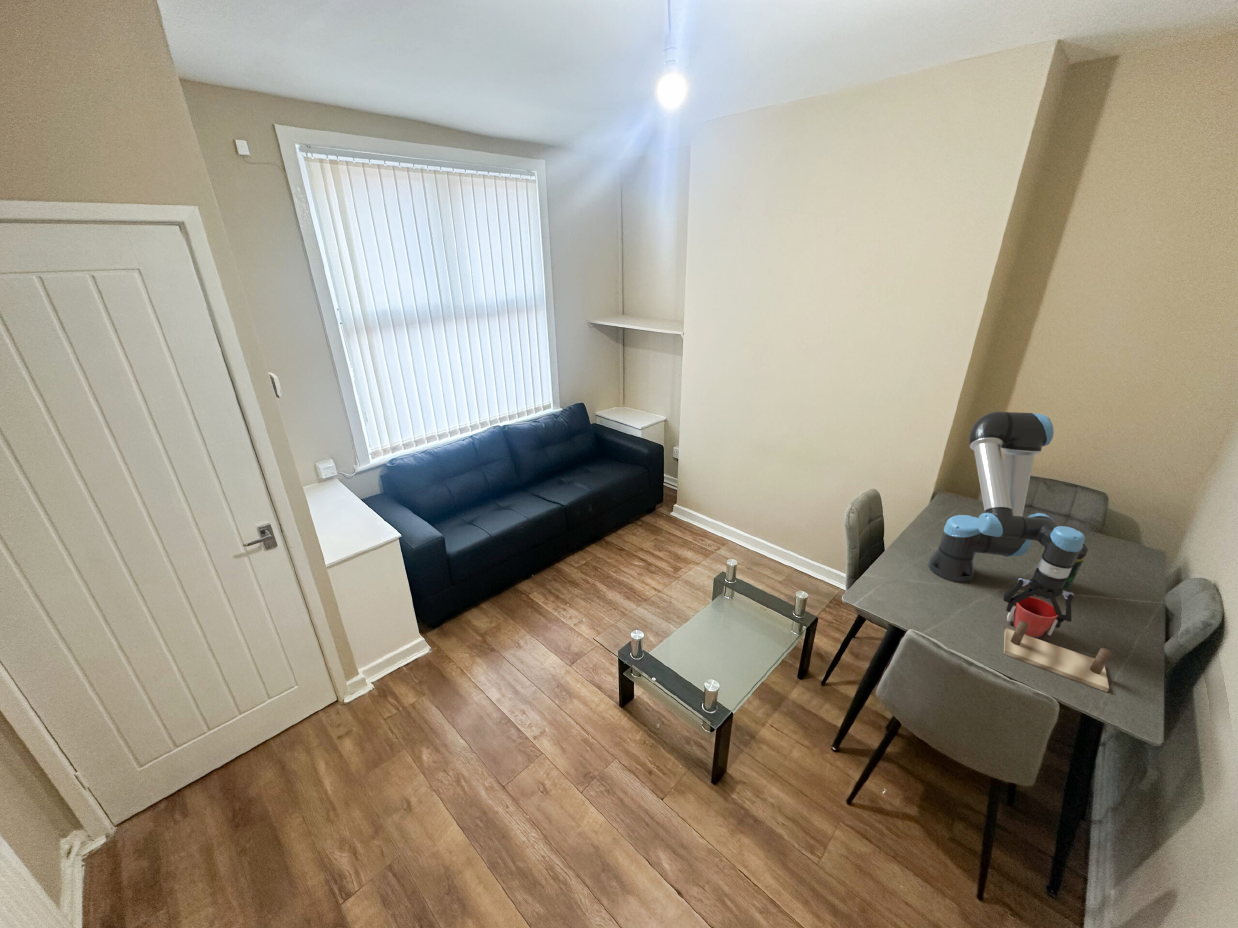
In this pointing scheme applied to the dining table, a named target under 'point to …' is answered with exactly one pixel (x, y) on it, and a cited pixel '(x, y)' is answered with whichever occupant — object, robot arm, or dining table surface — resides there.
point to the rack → (1057, 658)
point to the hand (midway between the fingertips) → (1028, 625)
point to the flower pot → (1034, 615)
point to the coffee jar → (1075, 568)
